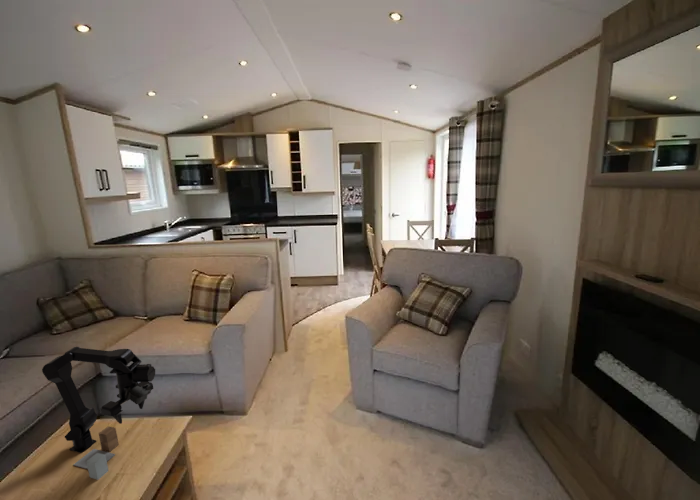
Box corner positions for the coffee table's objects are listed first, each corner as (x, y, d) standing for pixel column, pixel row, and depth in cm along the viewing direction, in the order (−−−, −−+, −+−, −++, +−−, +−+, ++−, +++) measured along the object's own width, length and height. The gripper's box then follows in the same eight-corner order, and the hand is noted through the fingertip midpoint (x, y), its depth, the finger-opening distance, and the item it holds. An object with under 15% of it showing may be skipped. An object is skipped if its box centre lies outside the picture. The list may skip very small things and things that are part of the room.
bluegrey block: (89, 477, 123) (86, 461, 122) (100, 468, 127) (97, 452, 126) (98, 479, 122) (94, 463, 121) (108, 470, 126) (105, 454, 124)
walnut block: (101, 450, 136) (98, 433, 134) (111, 443, 139) (108, 426, 138) (109, 452, 135) (106, 434, 133) (118, 444, 138) (115, 427, 137)
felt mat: (73, 465, 129) (73, 464, 129) (94, 449, 136) (93, 448, 136) (95, 471, 126) (95, 470, 126) (115, 454, 133) (115, 454, 133)
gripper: (119, 399, 123) (124, 436, 126) (161, 372, 140) (165, 405, 143) (96, 393, 126) (102, 430, 129) (140, 367, 143) (145, 400, 147)
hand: (131, 415), depth 137 cm, fingers open, 9 cm apart
